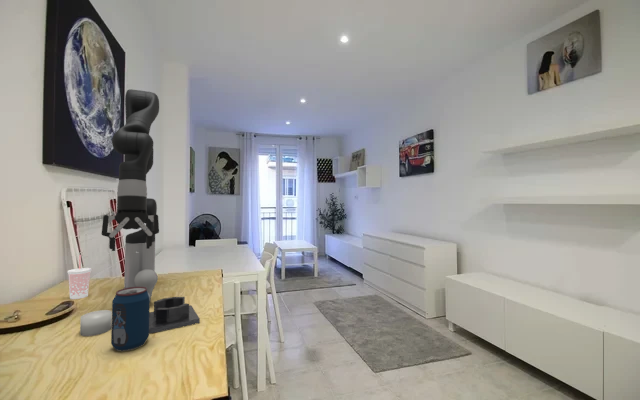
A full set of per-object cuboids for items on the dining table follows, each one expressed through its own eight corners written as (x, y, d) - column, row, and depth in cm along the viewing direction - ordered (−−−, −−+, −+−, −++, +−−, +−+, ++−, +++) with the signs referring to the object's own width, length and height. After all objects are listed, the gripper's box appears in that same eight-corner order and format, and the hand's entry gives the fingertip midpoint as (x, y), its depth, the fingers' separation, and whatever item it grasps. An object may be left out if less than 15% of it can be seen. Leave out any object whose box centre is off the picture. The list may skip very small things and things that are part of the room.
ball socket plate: (143, 317, 78) (144, 300, 78) (191, 309, 84) (191, 293, 84) (146, 334, 68) (146, 314, 68) (199, 323, 74) (199, 305, 74)
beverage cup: (94, 295, 96) (95, 254, 96) (72, 301, 90) (73, 257, 91) (85, 293, 99) (86, 252, 99) (63, 298, 93) (64, 255, 93)
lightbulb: (146, 309, 84) (147, 272, 84) (128, 307, 85) (129, 271, 85) (161, 302, 90) (162, 267, 90) (145, 301, 91) (146, 266, 91)
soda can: (149, 335, 67) (151, 284, 68) (147, 348, 61) (148, 292, 61) (114, 341, 64) (115, 287, 64) (107, 355, 58) (109, 296, 58)
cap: (81, 329, 70) (82, 313, 70) (111, 323, 74) (112, 308, 74) (78, 338, 65) (78, 321, 65) (110, 332, 69) (111, 315, 69)
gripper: (157, 198, 94) (157, 247, 92) (103, 196, 85) (101, 251, 84) (160, 195, 87) (159, 248, 86) (102, 193, 79) (100, 252, 78)
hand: (131, 249), depth 85 cm, fingers open, 8 cm apart
